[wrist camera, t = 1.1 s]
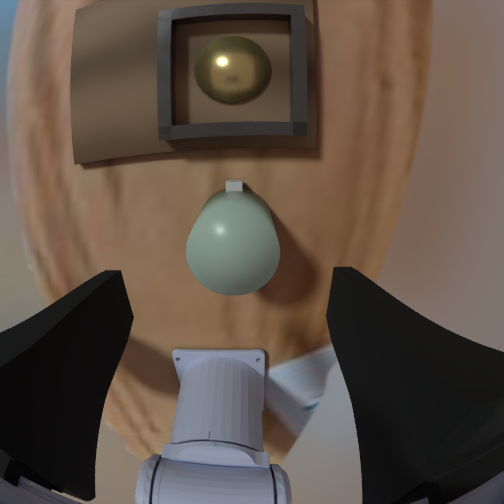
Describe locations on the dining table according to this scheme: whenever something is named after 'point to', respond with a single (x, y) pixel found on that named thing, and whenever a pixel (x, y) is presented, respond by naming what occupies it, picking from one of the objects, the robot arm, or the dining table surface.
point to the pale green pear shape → (233, 242)
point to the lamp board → (186, 88)
